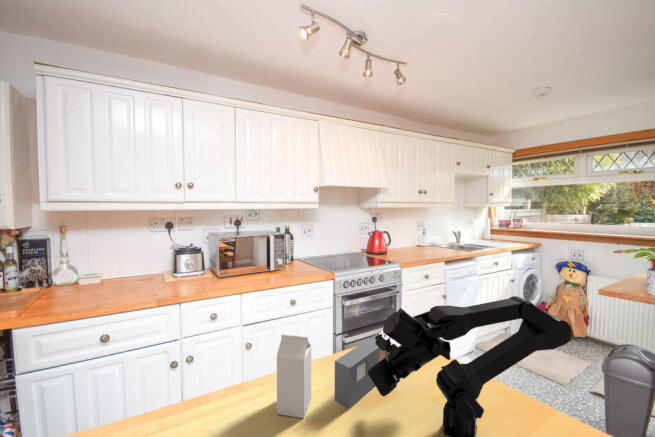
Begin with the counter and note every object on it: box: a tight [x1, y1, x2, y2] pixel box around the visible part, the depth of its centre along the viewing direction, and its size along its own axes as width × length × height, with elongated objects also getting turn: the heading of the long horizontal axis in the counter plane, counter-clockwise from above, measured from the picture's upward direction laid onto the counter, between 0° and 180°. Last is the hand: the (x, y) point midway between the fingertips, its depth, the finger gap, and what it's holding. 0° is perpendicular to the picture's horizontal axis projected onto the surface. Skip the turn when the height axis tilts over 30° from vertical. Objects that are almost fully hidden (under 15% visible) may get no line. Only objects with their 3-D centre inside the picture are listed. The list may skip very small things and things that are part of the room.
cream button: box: [357, 361, 366, 382], centre depth 79 cm, size 2×4×4 cm, turn 139°
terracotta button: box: [379, 350, 386, 361], centre depth 88 cm, size 2×4×4 cm, turn 139°
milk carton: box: [276, 334, 312, 419], centre depth 75 cm, size 7×7×19 cm
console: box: [334, 332, 390, 410], centre depth 85 cm, size 5×22×11 cm, turn 139°
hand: (377, 378), depth 76 cm, fingers closed
